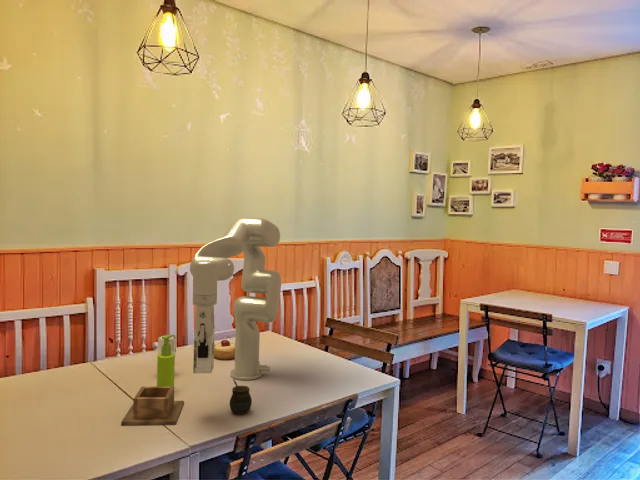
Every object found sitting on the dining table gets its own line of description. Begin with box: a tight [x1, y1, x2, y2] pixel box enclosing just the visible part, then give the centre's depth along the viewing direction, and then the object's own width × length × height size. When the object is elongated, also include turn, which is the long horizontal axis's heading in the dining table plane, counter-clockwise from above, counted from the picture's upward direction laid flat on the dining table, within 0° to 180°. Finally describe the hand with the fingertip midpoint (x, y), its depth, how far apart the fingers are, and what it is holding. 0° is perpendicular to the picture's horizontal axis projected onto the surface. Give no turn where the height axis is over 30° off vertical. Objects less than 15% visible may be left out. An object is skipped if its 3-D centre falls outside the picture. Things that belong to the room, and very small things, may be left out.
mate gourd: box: [229, 378, 252, 416], centre depth 162 cm, size 7×8×10 cm
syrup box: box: [192, 325, 216, 374], centre depth 159 cm, size 6×6×14 cm
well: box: [120, 385, 185, 426], centre depth 158 cm, size 16×16×7 cm
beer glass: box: [157, 335, 177, 376], centre depth 193 cm, size 7×7×15 cm
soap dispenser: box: [156, 334, 176, 387], centre depth 177 cm, size 6×7×20 cm
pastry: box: [214, 336, 235, 361], centre depth 219 cm, size 12×12×9 cm
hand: (204, 353), depth 159 cm, fingers closed on syrup box, 5 cm apart
